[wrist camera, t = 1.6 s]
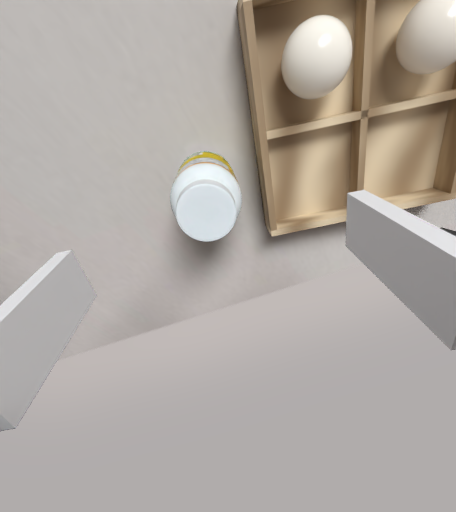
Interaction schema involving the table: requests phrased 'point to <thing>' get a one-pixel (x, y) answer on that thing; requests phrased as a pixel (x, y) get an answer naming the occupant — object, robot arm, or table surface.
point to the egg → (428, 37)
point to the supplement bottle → (206, 197)
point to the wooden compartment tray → (345, 117)
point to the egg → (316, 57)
